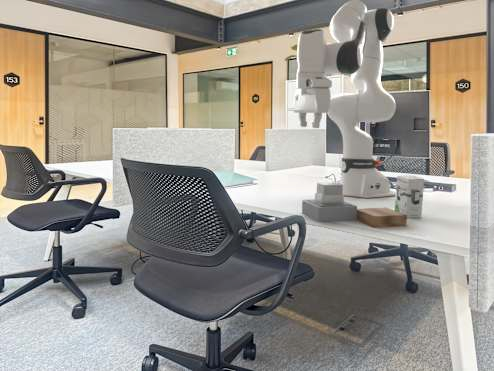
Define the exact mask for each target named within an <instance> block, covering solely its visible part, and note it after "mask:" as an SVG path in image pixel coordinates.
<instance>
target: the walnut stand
mask: <svg viewBox="0 0 494 371" xmlns="http://www.w3.org/2000/svg"><path fill="white" fill-rule="evenodd" d="M407 219H408V218H407V215H406V214H403V213H400V212H397V211H395V209H391V208H390V207H389V208H388V207H372V208H371V207H367V208H357V220H356V221H359V222H361V223H363V224H365V225H368V226H370V227H372V228H388V227H403V226H404V227H405V226H407V223H408V221H407Z"/></svg>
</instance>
